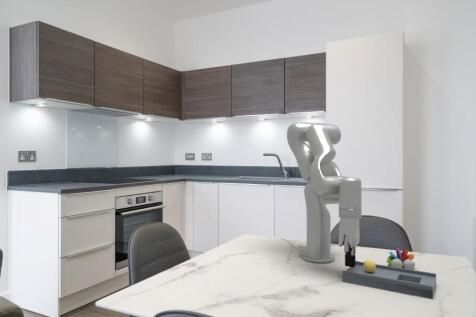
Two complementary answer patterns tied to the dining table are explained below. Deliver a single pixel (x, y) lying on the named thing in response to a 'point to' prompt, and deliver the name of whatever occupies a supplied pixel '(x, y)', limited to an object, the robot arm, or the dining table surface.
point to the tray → (393, 279)
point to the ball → (369, 266)
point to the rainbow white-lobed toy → (401, 259)
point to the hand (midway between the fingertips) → (350, 266)
